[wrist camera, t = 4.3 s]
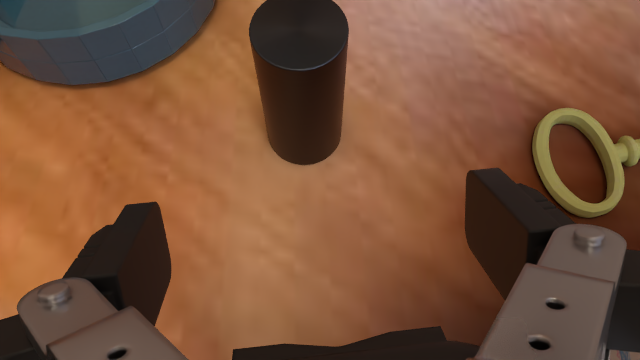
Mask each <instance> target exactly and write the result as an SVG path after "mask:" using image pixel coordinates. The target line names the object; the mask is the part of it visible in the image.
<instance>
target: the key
mask: <svg viewBox="0 0 640 360" xmlns="http://www.w3.org/2000/svg"><path fill="white" fill-rule="evenodd" d="M555 124H569V125H572V126H574V127H576V128H578V129H579V130H580V131H581V132H582V133H583V134H584V135H585V136H586V137H587V138H588V139H589V140H590V142H591V143H592V145H593V146H594V148H595V150H596V151H597V153H598V155H599V157H600V159H601V162H602V165H603V168H604V171H605V175H606V179H607V194H606V198H605V199H604V200H603V201H602V202H600V203H598V204H592V203H587V202H585V201H582V200H580V199H579V198H578V197H576V196H575V195H574V194H573V193H572V192H570V191H569V190H568V189H567V188H566V186H565V185H564V184H563V183H562V181H561V180H560V178H559V177H558V175H557V174H556V172H555V169H554V167H553V164H552V161H551V158H550V153H549V135H550V130H551V128H552V126H553V125H555ZM532 150H533V156H534V161H535V164H536V168H537V171H538V173H539V175H540V177H541V179H542V181H543V183H544V185H545V187H546V189H547V190H548V192H549V193H550V194H551V196H552V197H553V198H554V199H555V200H556V201H557V202H558V203H559V204H560V205H561V206H562V207H563V208H564V209H566V210H567V211H569V212H570V213H572V214H574V215H577V216H579V217H584V218H591V217H597V216H600V215H603V214H606V213H608V212H609V211H611V210H612V209H613V208H614V207H615V206H616V205H617V203H618V202H619V200H620V198H621V196H622V194H623V188H624V171H623V168H622V164H621V162H622V163H623V164H624V165H625V166H633V165H635V164H637V162H638V160H639V158H640V139H637V140H634V139H633V138H632V137H630V136H623V137H621V138H619V140H618V142H617V144H613V142H612V140H611V139H610V137H609V135H608V134H607V132H606V131H605V129H604V128H603V127H602V126H601V125H600V124H599V122H597V121H596V120H595V119H594V118H592V117H591V116H590V115H589V114H587V113H585V112H583V111H581V110H577V109H573V108H563V109H558V110H555V111H552V112H551V113H549V114H548V115H546V116H545V117H544V118H543V119H542V120H541V121H540V122H539V123H538V125H537V127H536V129H535V132H534V136H533V143H532Z"/></svg>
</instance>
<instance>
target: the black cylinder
mask: <svg viewBox="0 0 640 360" xmlns="http://www.w3.org/2000/svg"><path fill="white" fill-rule="evenodd" d="M348 34H349V28H348V22H347V19H346V16H345V14H344V13H343V11H342V10H341V8H340V7H339V6H338V5H337V4H336V3H335V2H334V1H332V0H267V1H265V2H264V3H263V4H262V5H261V6H260V7H259V8H258V9H257V10H256V12H255V13H254V15H253V17H252V20H251V23H250V27H249V36H250V42H251V48H252V53H253V58H254V63H255V69H256V74H257V79H258V85H259V90H260V95H261V101H262V106H263V111H264V116H265V122H266V127H267V132H268V138H269V141H270V144H271V146H272V148H273V150H274V151H275V152H276V153H277V154H278V155H279V156H280V157H281V158H283V159H284V160H286V161H289V162H291V163H295V164H301V165H308V164H314V163H317V162H320V161H322V160H324V159H326V158H327V157H328V156H330V155H331V154H332V153H333V152H334V150H335V149H336V148H337V146H338V144H339V141H340V137H341V126H342V113H343V100H344V87H345V73H346V60H347V47H348Z"/></svg>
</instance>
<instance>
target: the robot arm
mask: <svg viewBox="0 0 640 360" xmlns="http://www.w3.org/2000/svg"><path fill="white" fill-rule="evenodd" d="M465 233H466V239H467V243H468V246H469V248H470V250H471V251H472V253H473V254H474V256H475V257H476V258H477V260H478V261H479V263H480V264H481V266H482V267H483V269H484V270H485V272H486V273H487V275H488V276H489V278H490V279H491V281H492V282H493V284H494V285H495V286H496V288H497V289H498V291H499V292H500V294H501V295H502V297H503V298H504V300H505V302H504V304H503V306H502V308H501V310H500V312H499V313H498V315H497V317H496V319H495V321H494V323H493V325H492V326H491V328H490V330H489V332H488V334H487V336H486V338H485V339H484V341H483V343H482V345H481V347H480V346H477V345H472V344H468V343H463V342H456V341H447V340H446V338H445V336H444V333H443V331H442V329H441V327H440V326H438V327H429V328H420V329H412V330H403V331H394V332H388V333H385V334H381V335H378V336H375V337H371V338H368V339H365V340H361V341H358V342H355V343H351V344H348V345H344V346H339V347H329V346H313V345H297V344H278V345H269V346H260V347H251V348H242V349H233V356H232V360H609V358H610V351H611V350H619V351H628V352H638V353H640V251H635V250H627V249H626V245H627V243H626V241H625V239H624V238H623V237H622V236H621V235H619V234H618V233H616V232H614V231H612V230H609V229H607V228H603V227H600V226H595V225H588V224H576V223H574V222H573V221H572V220H571V219H570V218H569V217H567V216H566V215H565V214H564V213H563V212H562V211H561V210H559V209H558V208H557V209H556V206H555V205H554V204H552V203H551V202H550V201H548V199H547V198H546V197H544V196H543V195H542V194H541V193H540V192H539V191H537V190H535V189H533V188H530V187H528V186H526V185H523V184H521V183H520V184H516V183H515V182H514V181H512V180H511V179H510V178H509V177H508V176H507V175H506V174H505V173H504V172H503V171H502V170H500V169H499V168H490V169H480V170H470V171H469V172H468V173H467V177H466V201H465ZM170 279H171V258H170V253H169V248H168V243H167V239H166V234H165V229H164V224H163V219H162V215H161V210H160V207H159V205H158V203H157V202H149V203H139V204H129V205H126V206H125V207H124V209H123V210H122V212H121V213H120V215H119V216H118V218H117V220H116V221H115V223H114V224H113V225H106V226H105V227H103V228H102V229H100V230H99V231H98V232H96V233H95V234H93V235H92V236H91V237H90V239H89V240H88V242H87V243H86V244H85V246H84V249H82V250H81V252H80V253H79V255H78V258H76V259H75V260H74V262H73V263H72V265H71V266H70V268H69V269H68V271H67V272H66V274H65V275H64V276H63V278H62V279H58V280H54V281H51V282H48V283H45V284H43V285H40V286H38V287H36V288H35V289H33V290H31V291H30V292H28V293H27V294H26V295H24V296H23V297H22V298H21V300H20V301H19V302H18V305H17V311H18V315H15V316H12V317H9V318H5V319H2V320H0V360H188V359H187V358H186V357H185V356H184V355H183V354H182V353H181V352H180V351H179V350H178V349H177V348H176V347H175V346H174V345H173V344H172V343H171V342H170V341H169V340H168V339H167V338H166V337H165V336H164V335H162V334H161V333H160V332H159V331H158V330H157V329H156V328H155V327H154V326H155V323H156V320H157V317H158V315H159V312H160V309H161V306H162V303H163V300H164V297H165V294H166V291H167V288H168V285H169V282H170Z"/></svg>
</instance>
